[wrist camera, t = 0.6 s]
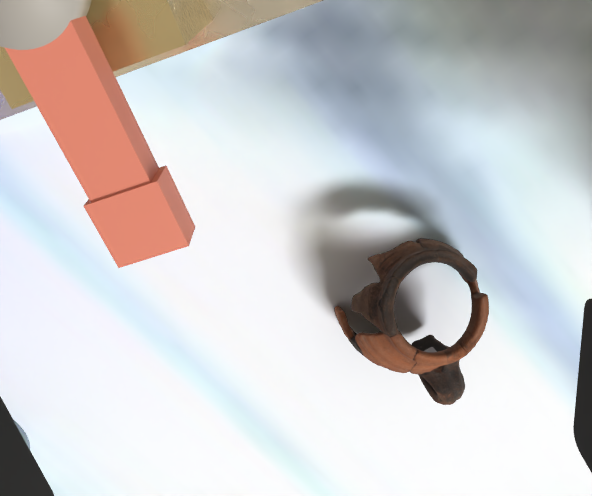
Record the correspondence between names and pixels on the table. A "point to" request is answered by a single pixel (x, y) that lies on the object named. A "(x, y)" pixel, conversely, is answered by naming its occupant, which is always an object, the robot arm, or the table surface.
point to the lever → (95, 128)
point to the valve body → (151, 34)
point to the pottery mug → (427, 351)
